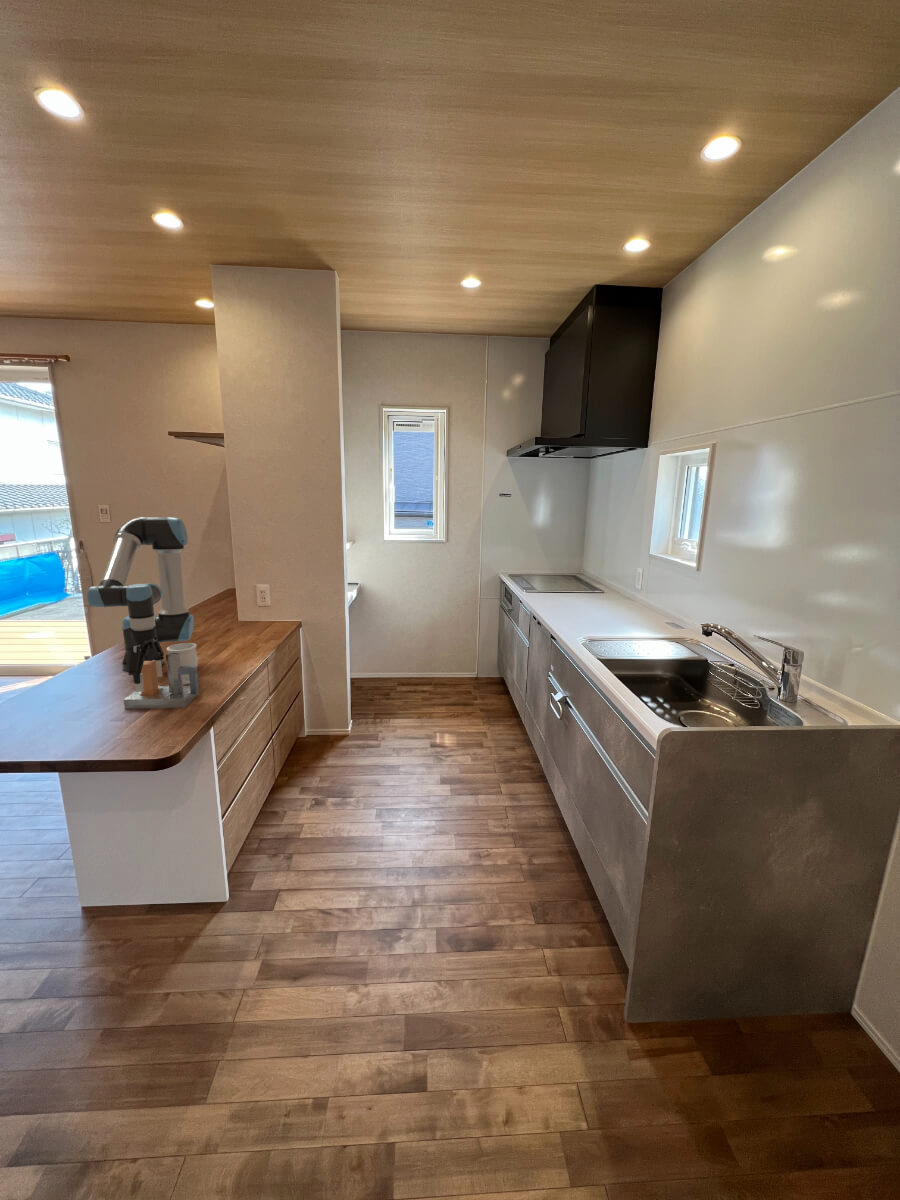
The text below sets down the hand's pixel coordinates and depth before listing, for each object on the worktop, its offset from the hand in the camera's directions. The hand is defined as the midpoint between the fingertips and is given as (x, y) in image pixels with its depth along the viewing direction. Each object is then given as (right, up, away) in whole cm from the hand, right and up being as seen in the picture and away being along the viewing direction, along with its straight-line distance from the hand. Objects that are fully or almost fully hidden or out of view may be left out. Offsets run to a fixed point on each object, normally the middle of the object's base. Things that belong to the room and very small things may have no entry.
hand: (149, 683), depth 173 cm
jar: (+2, -3, +20) cm, 21 cm away
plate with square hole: (+5, -7, +2) cm, 8 cm away
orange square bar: (0, -7, +1) cm, 7 cm away
